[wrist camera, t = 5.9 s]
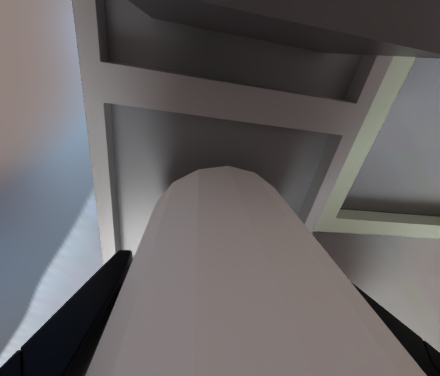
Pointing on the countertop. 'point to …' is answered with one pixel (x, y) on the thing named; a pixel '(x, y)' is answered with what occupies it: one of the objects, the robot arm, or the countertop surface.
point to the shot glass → (239, 293)
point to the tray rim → (355, 219)
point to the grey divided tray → (232, 93)
